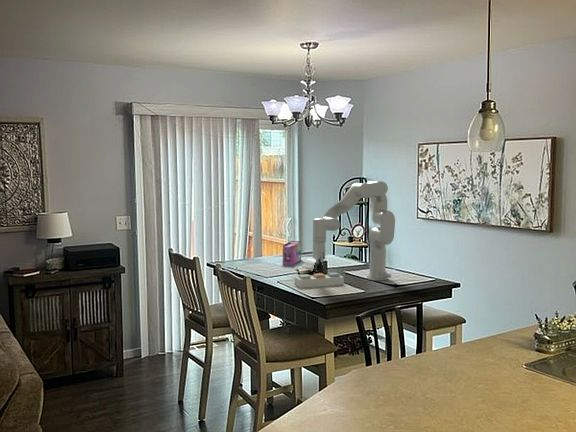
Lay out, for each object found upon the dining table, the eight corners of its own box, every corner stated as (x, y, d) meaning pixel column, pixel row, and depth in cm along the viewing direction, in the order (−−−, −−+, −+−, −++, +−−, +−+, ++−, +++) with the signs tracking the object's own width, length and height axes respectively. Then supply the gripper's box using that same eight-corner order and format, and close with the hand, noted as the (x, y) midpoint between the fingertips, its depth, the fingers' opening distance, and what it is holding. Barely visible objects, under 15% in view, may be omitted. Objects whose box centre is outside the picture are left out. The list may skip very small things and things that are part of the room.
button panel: (337, 281, 337) (337, 274, 337) (343, 284, 328) (343, 277, 328) (294, 284, 329) (294, 276, 329) (299, 287, 321) (299, 280, 320)
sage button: (307, 279, 329) (307, 274, 329) (310, 281, 324) (310, 276, 324) (298, 279, 328) (298, 274, 327) (301, 281, 323) (301, 276, 322)
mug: (313, 269, 373) (313, 257, 372) (323, 272, 365) (323, 260, 364) (299, 271, 367) (299, 259, 366) (308, 274, 358) (308, 262, 357)
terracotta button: (322, 278, 332) (322, 273, 332) (325, 280, 327) (325, 275, 326) (313, 278, 330) (313, 273, 330) (316, 280, 325) (316, 275, 325)
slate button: (336, 277, 334) (336, 272, 334) (339, 279, 329) (339, 274, 329) (327, 277, 333) (327, 272, 333) (331, 279, 328) (331, 274, 327)
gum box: (292, 265, 388) (292, 246, 387) (281, 265, 390) (281, 245, 389) (301, 259, 411) (301, 241, 409) (290, 259, 413) (290, 240, 412)
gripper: (309, 238, 332) (308, 268, 334) (317, 241, 318) (317, 273, 320) (321, 237, 334) (320, 268, 336) (330, 241, 320) (329, 272, 322)
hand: (319, 270), depth 328 cm, fingers closed
